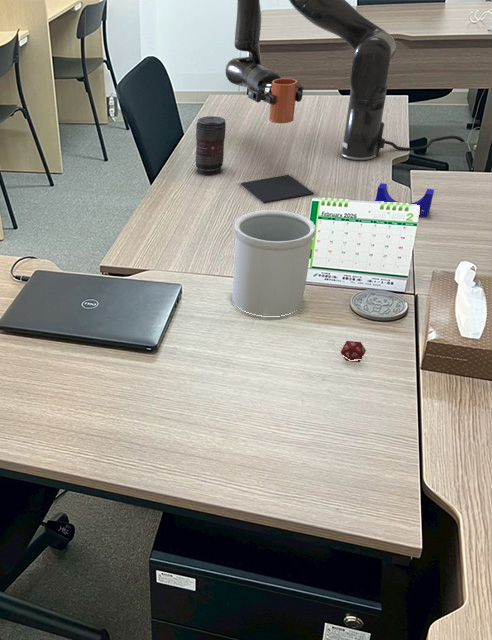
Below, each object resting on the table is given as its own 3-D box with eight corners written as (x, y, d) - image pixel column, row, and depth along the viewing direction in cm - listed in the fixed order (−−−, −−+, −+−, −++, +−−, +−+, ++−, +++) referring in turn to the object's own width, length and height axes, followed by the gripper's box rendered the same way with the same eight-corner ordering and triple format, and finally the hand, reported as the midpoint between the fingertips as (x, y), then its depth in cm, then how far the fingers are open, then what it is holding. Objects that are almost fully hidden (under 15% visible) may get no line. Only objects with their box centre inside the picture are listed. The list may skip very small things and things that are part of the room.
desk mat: (288, 176, 197) (288, 174, 197) (313, 194, 186) (313, 192, 186) (241, 184, 196) (241, 182, 195) (263, 203, 184) (264, 201, 184)
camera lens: (225, 174, 202) (228, 123, 194) (197, 177, 203) (198, 125, 194) (220, 164, 209) (223, 114, 201) (193, 167, 209) (194, 116, 201)
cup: (286, 114, 193) (290, 77, 187) (297, 121, 187) (301, 82, 182) (265, 118, 192) (267, 80, 186) (275, 124, 187) (278, 86, 181)
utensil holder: (254, 277, 153) (261, 202, 144) (318, 298, 144) (330, 220, 134) (215, 306, 145) (219, 229, 136) (280, 330, 136) (289, 249, 126)
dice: (335, 355, 128) (338, 337, 126) (360, 353, 128) (364, 335, 126) (342, 367, 125) (345, 349, 123) (368, 366, 125) (371, 347, 122)
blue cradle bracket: (372, 212, 174) (376, 189, 171) (376, 205, 177) (380, 183, 174) (425, 220, 168) (431, 196, 165) (429, 212, 171) (434, 189, 168)
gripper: (239, 72, 196) (261, 88, 182) (289, 66, 196) (315, 81, 183) (238, 100, 200) (259, 117, 186) (287, 93, 201) (312, 110, 187)
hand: (286, 99), depth 184 cm, fingers closed on cup, 6 cm apart
